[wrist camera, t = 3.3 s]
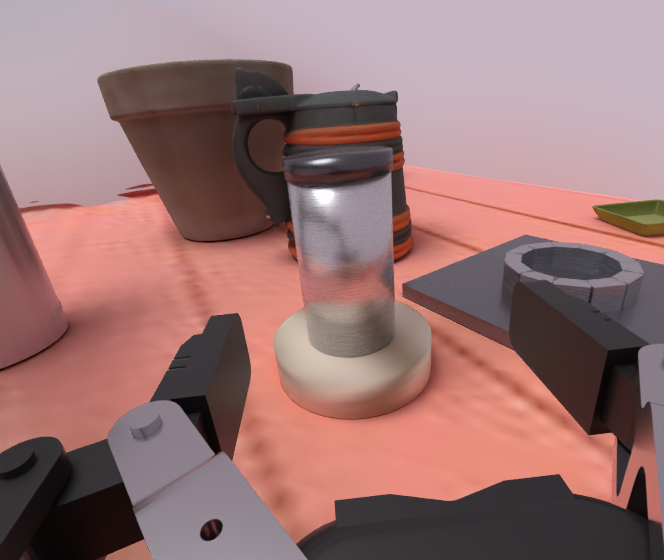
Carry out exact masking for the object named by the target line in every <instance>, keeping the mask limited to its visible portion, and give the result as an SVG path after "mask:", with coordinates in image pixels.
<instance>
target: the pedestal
mask: <svg viewBox="0 0 664 560" xmlns="http://www.w3.org/2000/svg"><path fill="white" fill-rule="evenodd" d="M431 340H432V334H431V328H430V326H429V324H428V322H427V321H426V319H425V318H424V317H423V316H422V315H421V314H420V313H419V312H417V311H416V310H414V309H413V308H411V307H409V306H407V305H405V304H402V303H400V302H397V301H395V337H394V339H393V340H392V342H391V343H390V344H389V345H388V346H387V347H385V348H384V349H382V350H380V351H378V352H376V353H373V354H370V355H366V356H362V357H354V358H342V357H334V356H330V355H326V354H324V353H321V352H319V351H318V350H316V349H315V348H314V347H313V346H312V345H311V344H310V342H309V339H308V332H307V325H306V317H305V310H304V308H303V309H301V310H299V311H298V312H296V313H294V314H293V315H291V316H290V317H289V318H288V319H286V320H285V321H284V322H283V323H282V325H281V326H280V327H279V329H278V331H277V333H276V335H275V338H274V349H275V355H276V360H277V365H278V371H279V376H280V381H281V385H282V387H283V389H284V391H285V393H286V394H287V395H288V397H289V398H290V399H291V400H293V401H294V402H295V403H296V404H298V405H299V406H301V407H302V408H304V409H306V410H308V411H311V412H313V413H316V414H319V415H323V416H327V417H332V418H340V419H360V418H369V417H375V416H379V415H383V414H386V413H389V412H392V411H394V410H397V409H399V408H401V407H403V406H404V405H406V404H408V403H409V402H411V401H412V400H413V399H415V398H416V397H417V396H418V395H419V394H420V393H421V392H422V390H423V389H424V388H425V386H426V385H427V383H428V381H429V377H430V374H431Z"/></svg>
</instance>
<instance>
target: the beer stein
mask: <svg viewBox="0 0 664 560" xmlns="http://www.w3.org/2000/svg"><path fill="white" fill-rule="evenodd" d="M234 76H235V90H236V100H235V101H232V102H230V108H231V113H232V114H233V115H237V117H236V120H235V124H234V127H233V133H232V153H233V158H234V161H235V165H236V167H237V170H238V172H239V174H240V176H241V177H242V179H243V180H244V182H245V184H246V185H247V186H248V188H249V189H250V190H251V191H252V193H253V194H254V195H255V196H256V197H257V198H258V199H259V200H260V201H261V202H262V204H263V205H264V206H265V207H266V211H265V212H264V214H265V216H266V218H267V219H268V220H270V221H272V222H273V223H274V224H275V226H276V227H277V226H278V224H280V223H281V222H283V221H285V224H286V226H287V227H288V233H287V236H288V238H289V242H288V248H289V251H290V252H291V254H292V255H293V257H294V258H295V259H297V252H296V245H295V237H294V230H293V223H292V215H291V208H290V201H289V194H288V186H287V181H286V180H285V178H284V171H282V172H269V171H266V170H263V169H261V168H260V167H259V166H257V165H256V164H255V163H254V161H253V160H252V158H251V156H250V153H249V149H248V138H249V134H250V131H251V130H252V128H253V127H254V126H255V125H256V124H257V123H258V122H260V121H262V120H266V119H272V120H278V121H280V122H282V123H283V125H284V127H285V130H284V131H283V140H284V142H285V143H286V144H285V146H284V148H283V150H282V153H283V155H284V156H285V157H287V156H290V155H294V154H298V153H303V152H309V151H316V150H324V149H332V148H343V147H359V146H384V147H390V148H392V151H393V170H392V171H391V186H392V224H393V261H395V260H397V259H399V258H401V257H403V256H404V255H405V254H406V253H407V252H408V251H409V250H410V249H411V247H412V244H413V239H412V233H411V219H410V208H409V206H408V205H407V204H406V195H405V185H404V176H403V164H404V162H405V159H404V157H403V156H404V151H403V145H402V138H401V136H400V135H401V130H400V122H399V121H398V120H397V106H396V103H397V101H398V93H397V91H391V92H388V93H385V94H383V93H379V92H375V91H368V90H351V91H335V92H327V93H321V94H316V95H315V94H297V95H288V93H287V91H286V90H285V89H284V87H283V86H282V85H281V84H280V83H279V82H278V81H277V80H276V79H275V78H273V77H272V76H270V75H268V74H266V73H263V72H260V71H255V70H244V69H242V68H240V67H239V68H237V69H236V70H235V73H234ZM297 260H298V259H297Z"/></svg>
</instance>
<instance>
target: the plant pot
mask: <svg viewBox="0 0 664 560" xmlns="http://www.w3.org/2000/svg"><path fill="white" fill-rule="evenodd" d="M239 67H240V68H242V69H244V70H255V71H260V72H263V73H266V74H268V75H270V76H272V77H273V78H275V79H276V80H277V81H278V82H279V83H280V84H281V85H282V86H283V87H284V89H285V90H286V91H287V93H288V95H294V92H293V72H292V67H291V66H289V65H287V64H284V63H279V62H272V61H262V60H232V59H225V60H194V61H178V62H169V63H159V64H151V65H144V66H137V67H131V68H126V69H120V70H117V71H112V72H109V73H106V74H103V75H101V76H99V77H98V84H99V87H100V90H101V93H102V96H103V98H104V101H105V104H106V107H107V110H108V113H109V115H110V118H111V119H112V120H114V121H117V122H119V123H120V124H121V126H122V128H123V130H124V132H125V134H126V135H127V138H128V140H129V141H130V143H131V145H132V147H133V149H134V151H135V153H136V154H137V157H138V158H139V160H140V162H141V164H142V166H143V167H144V169H145V171H146V173H147V175H148V176H149V178H150V180H151V182H152V183H153V185H154V187H155V189H156V191H157V192H158V194H159V196H160V198H161V200H162V202H163V203H164V205H165V207H166V209H167V211H168V212H169V214H170V216H171V218H172V220H173V221H174V223H175V225H176V226H177V228H178V230H179V231H180V233H181V234H182V236H183V237H185V238H187V239H190V240H196V241H216V240H226V239H233V238H238V237H243V236H248V235H251V234H255V233H258V232H261V231H263V230H265V229H267V228H269V227H271V226H272V225H273V224H274V223H273V222H272V221H270V220H268V219H267V218H266V216H265V214H264V212H265V211H266V207H265V206H264V205H263V204H262V202H261V201H260V200H259V199H258V198H257V197H256V196H255V195H254V194H253V193H252V191H251V190H250V189H249V188H248V186H247V185H246V184H245V182H244V180H243V179H242V177H241V176H240V174H239V172H238V170H237V167H236V165H235V161H234V158H233V153H232V133H233V127H234V124H235V120H236V117H237V115H233V114H232V113H231V108H230V102H232V101H235V100H236V90H235V76H234V73H235V70H236V69H237V68H239ZM284 130H285V127H284V125H283V123H282V122H280V121H278V120H272V119H266V120H262V121H260V122H258V123H257V124H256V125H255V126H254V127H253V128H252V130H251V131H250V134H249V138H248V149H249V153H250V156H251V158H252V160H253V161H254V163H255V164H256V165H257V166H259V167H260V168H261V169H263V170H266V171H269V172H282V169H283V164H282V158H284V155H283V153H282V150H283V148H284V146H285V142H284V140H283V131H284Z"/></svg>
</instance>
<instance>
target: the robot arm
mask: <svg viewBox="0 0 664 560" xmlns="http://www.w3.org/2000/svg"><path fill="white" fill-rule="evenodd" d="M67 328H68V322H67V319H66V317H65V314H64V312H63V310H62V306H61V303H60V301H59V300H58V298H57V296H56V293H55V291H54V289H53V286H52V284H51V281H50V279H49V277H48V275H47V272H46V270H45V268H44V265H43V263H42V261H41V258H40V256H39V254H38V251H37V249H36V247H35V245H34V242H33V240H32V238H31V235H30V233H29V231H28V228H27V226H26V224H25V221H24V219H23V217H22V215H21V212H20V210H19V208H18V205H17V203H16V201H15V199H14V196H13V194H12V191H11V189H10V187H9V185H8V182H7V180H6V178H5V175H4V173H3V171H2V168H1V166H0V369H1V368H4V367H7V366H9V365H12V364H14V363H17V362H19V361H22V360H24V359H26V358H28V357H30V356H32V355H34V354H36V353H38V352H40V351H41V350H43V349H45V348H47V347H48V346H49V345H51V344H52V343H54V342H55V341H57V340H58V339H59V338H60V337H61V336H62V335H63V334H64V333H65V331H66V330H67ZM509 337H510V341H511V344H512V347H513V348H514V350H515V351H516V353H517V354H518V355H519V356H520V357H521V358H522V359H523V361H524V362H525V363H526V364H527V365H528V366H529V367H530V369H531V370H532V371H533V372H534V373H535V374H536V375H537V377H538V378H539V379H540V380H541V381H542V382H543V383H544V385H545V386H546V387H547V388H548V389H549V390H550V391H551V393H552V394H553V395H554V396H555V397H556V398H557V399H558V401H559V402H560V403H561V404H562V405H563V406H564V407H565V409H566V410H567V411H568V412H569V413H570V414H571V416H572V417H573V418H574V419H575V420H576V421H577V422H578V424H579V425H580V426H581V427H582V428H583V429H584V430H585V432H586V433H587V434H588V435H595V434H604V433H613V434H614V435H615V436H616V438H615V442H614V446H613V464H612V503H609V502H606V501H602V500H599V499H596V498H592V497H587V496H583V495H577V494H573V493H572V492H571V490H570V489H569V488H568V486H567V485H566V483H565V482H564V480H563V479H562V478H561V476H560V475H559V474H557V475H548V476H540V477H531V478H523V479H514V480H506V481H502V482H500V483H497V484H495V485H492V486H490V487H488V488H485V489H483V490H480V491H478V492H475V493H473V494H470V495H468V496H465V497H463V498H460V499H458V500H455V501H443V500H434V499H426V498H418V497H410V496H401V495H393V494H387V495H378V496H370V497H361V498H353V499H344V500H336V501H335V514H336V520H335V521H332V522H330V523H327V524H325V525H323V526H321V527H320V528H318V529H316V530H314V531H313V532H311V533H310V534H308V535H307V536H306V537H304V538H303V539H302V540H300V541H299V542H298V543H297V544H295V543H294V541H293V540H292V539H291V537H290V536H289V535H288V534H287V532H286V531H285V530H284V528H283V527H282V526H281V524H280V523H279V522H278V521H277V519H276V518H275V517H274V515H273V514H272V513H271V511H270V510H269V509H268V508H267V506H266V505H265V504H264V502H263V501H262V500H261V498H260V497H259V496H258V495H257V493H256V492H255V491H254V489H253V488H252V487H251V486H250V484H249V483H248V482H247V480H246V479H245V478H244V476H243V475H242V474H241V473H240V471H239V470H238V469H237V467H236V466H235V465H234V463H233V462H232V459H233V455H234V450H235V446H236V441H237V437H238V432H239V428H240V424H241V419H242V415H243V410H244V406H245V401H246V397H247V392H248V388H249V383H250V378H251V365H250V358H249V353H248V349H247V344H246V340H245V335H244V331H243V326H242V322H241V318H240V316H239V314H238V313H235V314H226V315H217V316H211V317H210V319H209V321H208V323H207V325H206V327H205V329H204V331H203V333H202V334H198V335H193V336H192V337H191V338H190V339H189V340H187V341H186V342H185V343H184V344H183V345H182V346H181V347H180V349H179V350H178V352H177V354H176V356H175V357H174V360H173V361H172V363H171V365H170V366H169V370H168V371H167V372H166V374H165V375H164V377H163V379H162V381H161V383H160V384H159V386H158V388H157V390H156V392H155V393H154V395H153V397H152V399H151V400H150V402H149V403H146V404H143V405H141V406H139V407H136V408H135V409H133V410H131V411H129V412H128V413H126V414H125V415H124V416H122V417H121V418H120V419H119V420H118V421H117V422H116V423H115V424H114V426H113V427H112V428H111V430H110V432H109V435H108V439H105V440H102V441H100V442H97V443H94V444H91V445H88V446H85V447H82V448H79V449H76V450H73V451H70V452H67V453H66V452H65V450H64V448H63V446H62V444H61V442H60V441H59V440H58V439H56V438H53V437H39V438H34V439H30V440H27V441H24V442H22V443H19V444H17V445H15V446H13V447H11V448H9V449H7V450H6V451H4V452H2V453H1V454H0V560H105V558H106V555H108V554H110V553H113V552H115V551H117V550H120V549H122V548H124V547H127V546H129V545H131V544H134V543H136V542H139V541H141V540H143V539H145V541H146V544H147V546H148V549H149V551H150V554H151V556H152V559H153V560H664V344H649V343H648V342H646V341H645V340H643V339H642V338H640V337H639V336H637V335H636V334H634V333H633V332H631V331H630V330H628V329H627V328H625V327H624V326H622V325H621V324H619V323H618V322H616V321H612V318H610V317H609V316H607V315H606V314H604V313H600V310H598V309H597V308H595V307H594V306H592V305H591V304H589V303H588V302H587V301H584V300H582V299H579V298H576V297H574V296H571V295H569V294H566V293H565V292H563V291H562V290H561V289H559V288H558V287H556V286H555V285H553V284H552V283H550V282H549V281H547V280H535V281H526V282H518V283H516V284H515V286H514V289H513V295H512V305H511V315H510V324H509Z"/></svg>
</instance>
